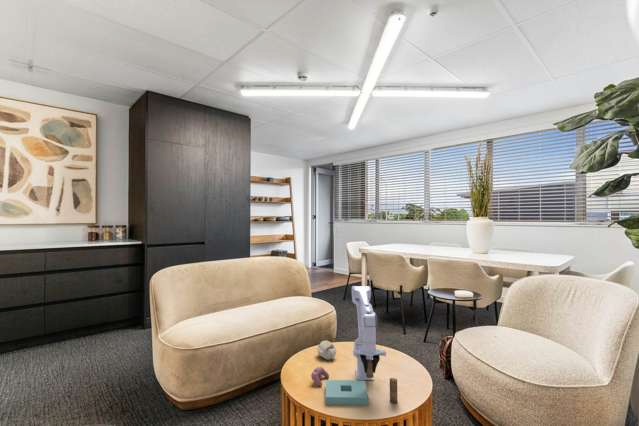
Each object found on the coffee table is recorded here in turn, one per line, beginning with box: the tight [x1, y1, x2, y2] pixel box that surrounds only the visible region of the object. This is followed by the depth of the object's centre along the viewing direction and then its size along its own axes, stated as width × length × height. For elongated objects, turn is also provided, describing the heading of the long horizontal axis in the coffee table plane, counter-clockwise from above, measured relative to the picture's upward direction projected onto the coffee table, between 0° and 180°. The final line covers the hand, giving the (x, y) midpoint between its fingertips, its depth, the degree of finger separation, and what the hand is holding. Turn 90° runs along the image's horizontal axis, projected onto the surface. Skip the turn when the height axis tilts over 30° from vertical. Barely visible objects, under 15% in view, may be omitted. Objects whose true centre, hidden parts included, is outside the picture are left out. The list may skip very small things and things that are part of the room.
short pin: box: [366, 358, 374, 379], centre depth 134 cm, size 3×3×7 cm
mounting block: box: [325, 379, 370, 406], centre depth 132 cm, size 14×18×3 cm
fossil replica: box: [316, 339, 337, 360], centre depth 170 cm, size 12×8×10 cm
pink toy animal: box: [310, 366, 330, 387], centre depth 144 cm, size 10×5×7 cm, turn 155°
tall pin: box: [389, 377, 399, 404], centre depth 127 cm, size 3×3×9 cm
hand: (369, 371), depth 134 cm, fingers closed on short pin, 3 cm apart
